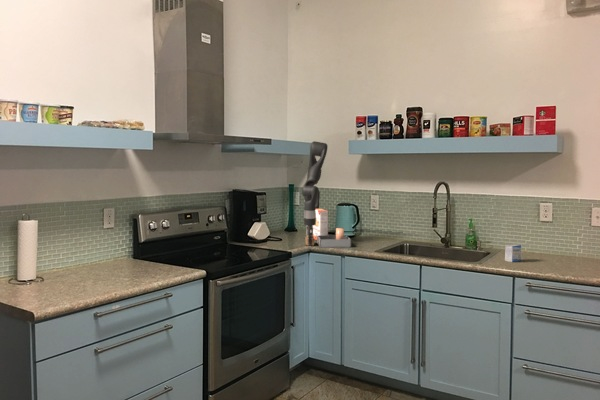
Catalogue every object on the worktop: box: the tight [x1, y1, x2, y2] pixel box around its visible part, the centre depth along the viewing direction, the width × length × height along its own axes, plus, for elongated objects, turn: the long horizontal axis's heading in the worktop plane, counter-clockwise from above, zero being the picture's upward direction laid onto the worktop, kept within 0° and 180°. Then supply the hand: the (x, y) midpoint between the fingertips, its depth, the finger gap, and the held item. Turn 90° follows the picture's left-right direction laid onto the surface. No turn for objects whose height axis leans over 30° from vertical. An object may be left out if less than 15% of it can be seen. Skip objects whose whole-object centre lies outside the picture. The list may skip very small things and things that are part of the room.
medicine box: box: [504, 243, 522, 263], centre depth 272 cm, size 8×4×9 cm, turn 122°
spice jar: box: [335, 227, 345, 239], centre depth 319 cm, size 5×5×10 cm
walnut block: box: [304, 235, 315, 246], centre depth 318 cm, size 5×5×5 cm
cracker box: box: [313, 208, 329, 241], centre depth 337 cm, size 14×6×21 cm, turn 19°
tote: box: [316, 234, 352, 249], centre depth 319 cm, size 17×19×5 cm
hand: (309, 243), depth 319 cm, fingers closed on walnut block, 5 cm apart
